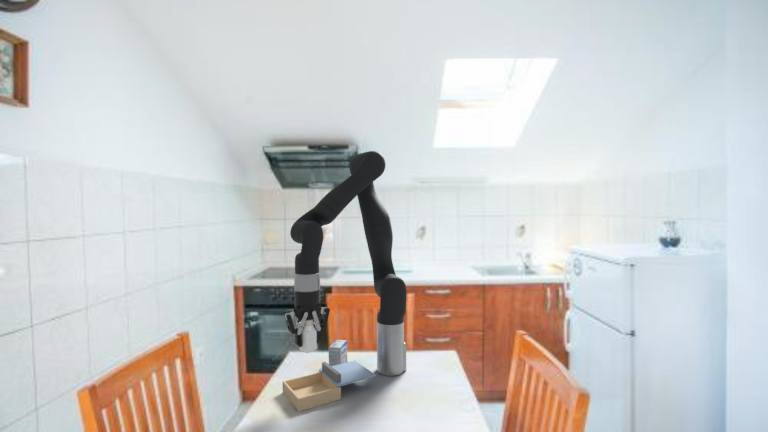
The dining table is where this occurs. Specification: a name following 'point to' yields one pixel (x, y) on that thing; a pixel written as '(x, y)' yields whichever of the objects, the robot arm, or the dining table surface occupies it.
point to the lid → (345, 373)
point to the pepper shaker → (308, 337)
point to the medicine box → (338, 353)
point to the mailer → (310, 391)
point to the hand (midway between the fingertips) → (307, 344)
